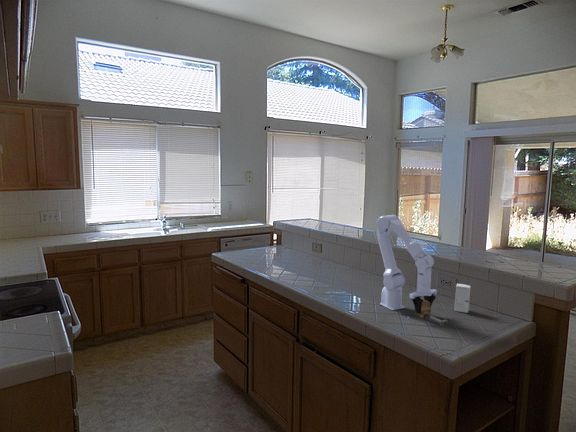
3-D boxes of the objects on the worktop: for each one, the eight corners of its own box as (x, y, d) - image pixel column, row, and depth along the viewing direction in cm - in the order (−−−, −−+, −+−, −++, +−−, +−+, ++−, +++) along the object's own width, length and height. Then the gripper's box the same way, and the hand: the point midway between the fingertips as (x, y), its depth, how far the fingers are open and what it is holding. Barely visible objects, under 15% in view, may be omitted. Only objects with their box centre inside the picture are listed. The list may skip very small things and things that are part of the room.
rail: (414, 313, 176) (414, 305, 175) (419, 312, 177) (419, 304, 177) (442, 326, 162) (442, 317, 161) (447, 325, 163) (447, 316, 163)
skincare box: (454, 311, 179) (455, 285, 178) (455, 307, 183) (456, 283, 181) (468, 313, 176) (470, 287, 175) (469, 310, 180) (470, 285, 179)
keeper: (415, 314, 174) (415, 301, 173) (423, 312, 176) (424, 299, 175) (421, 317, 170) (422, 304, 170) (430, 315, 173) (430, 302, 172)
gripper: (418, 286, 165) (417, 317, 167) (442, 282, 171) (441, 311, 173) (406, 282, 171) (405, 312, 173) (430, 278, 177) (429, 306, 179)
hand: (422, 311), depth 173 cm, fingers closed on keeper, 5 cm apart
